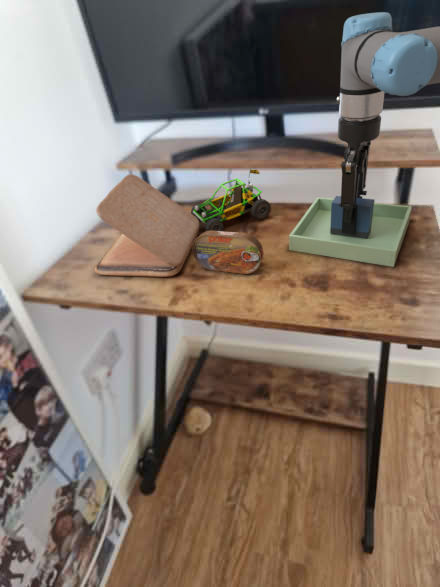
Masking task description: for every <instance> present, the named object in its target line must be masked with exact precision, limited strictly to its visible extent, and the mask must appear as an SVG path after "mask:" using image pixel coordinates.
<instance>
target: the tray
mask: <svg viewBox="0 0 440 587" xmlns="http://www.w3.org/2000/svg"><path fill="white" fill-rule="evenodd" d="M333 200H334V198H331V197H321V196H316V198H315V200H314V201H313V202H312V204H311V205H310V206H309V208H308V209H307V210H306V212H305V213H304V214H303V216H302V217H301V219H300V220H299V221H298V223H297V224H296V226H295V227H294V228H293V230H292V231H291V232H290V234H289V235H288V250H289V251H293V252H299V253H304V254H310V255H311V254H312V255H317V256H323V257H331V258H336V259H341V260H348V261H355V262H361V263H367V264H372V265H373V264H374V265H379V266H385V267H390V268H391V267H392V268H394V267H395V265H396V262H397V259H398V256H399V252H400V250H401V247H402V245H403V241H404V238H405V236H406V232H407V229H408V226H409V224H410V221H411V216H412V209H413V206H412V205H402V204H393V203H392V204H391V203H384V202H383V203H382V202H374V209H373V218H372V226H371V232H370V234H369V236H368V239H365V238H357V237H350V236H343V235H335V234H330V226H331V205H332V201H333Z"/></svg>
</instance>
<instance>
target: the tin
mask: <svg viewBox="0 0 440 587" xmlns="http://www.w3.org/2000/svg"><path fill="white" fill-rule="evenodd" d="M191 250H192V255H193V257H194V259H195V261H196V262H197V264H199V265H200V266H201V267H202V268H204V269H206V270H209V271H212V272H213V271H215V272H225V273H233V274H239V275H240V274H241V275H248V274H249V275H250V274H252V273H255V272H256V271H257V270H258V269H259V268H260V266H261V264H262V261H263V259H264V253H265V252H264V248H263V245H262V243H261V241H259V239H258V238H256V236H254V235H252V234H250V233H247V232H239V231H224V230H223V231H206V230H205V231H203V232H202V233H201V234H200V235H199V236H197V237H196V239H195V241H194V242H193V245H192V247H191Z"/></svg>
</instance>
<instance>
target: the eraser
mask: <svg viewBox="0 0 440 587" xmlns="http://www.w3.org/2000/svg"><path fill="white" fill-rule="evenodd" d="M333 199H334V200H333V201H332V205H331V226H330V234H335V235H343V236H350V237H357V238H365V239H368V236H369V234H370V232H371V226H372V218H373V209H374V203H375V199H374V198H363V197H362V198H357V202H356V204H357V205H358V206H357V217H356V229H355V234H354V235H353V234H345V233H342V218H343V208H341V206H339V204H340V203H341V195H336V196H335V197H333Z"/></svg>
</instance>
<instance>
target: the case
mask: <svg viewBox="0 0 440 587" xmlns="http://www.w3.org/2000/svg"><path fill="white" fill-rule="evenodd" d="M95 211H96V214H97V216H98V217H99V219H101V220H102V221H104V223H106V224H108V225H109V226H111V228H114V229H115V230H116V231H118V232H119V233H120V235H118V237H117V238H116V239H115V240H114V242H113V243H112V245H111V246H110V248H108V249H107V251H106V253H105V254H104V255H103V256H102V258H101V259H100V260H99V261H98V263H97V264H96V266H95V267H94V272H95V273H96V274H97V275H99V276H119V277H120V276H124V277H125V276H126V277H127V276H128V277H129V276H130V277H156V278H158V277H161V278H167V277H173V276H176V275H177V274H179V273H180V272H181V269H182V268H183V266H184V263H185V261H186V259H187V257H188V256H189V253H190V251H191V250H192V246H193V242H194V241H195V239H196V238H197V237H198V235H199V229H200V226H201V224H200V221H199V220H198V219H197V218H196V217H195V216H194V215H192V214H191V211H188V210H187V209H185V208H184V207H183V206H181V205H179V204H178V203H177V202H176V201H174V200H173V199H171V198H170V197H168V196H167V195H166V194H164V193H162V192H161V191H159V190H158V189H157V188H155V187H154V186H153V185H152V184H150V183H149V182H147V181H145V180H144V179H143V178H141V177H140V176H138V175H135V174H127V175H126V176H124V178H122V179H121V181H120V182H118V183H117V184H116V185H115V186H114V187H112V189H111V190H110V191H109V192H108V193H107V195H106V196H105V197H104V198H103V199H102V200H101V201H100V202H99V204H98V205H97V206H96V210H95Z"/></svg>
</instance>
